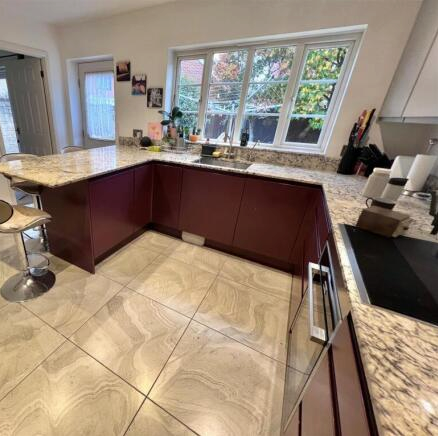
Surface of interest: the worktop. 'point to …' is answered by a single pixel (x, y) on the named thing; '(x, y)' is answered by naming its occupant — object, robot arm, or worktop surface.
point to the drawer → (402, 227)
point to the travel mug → (394, 188)
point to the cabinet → (380, 220)
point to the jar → (376, 183)
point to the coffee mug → (382, 203)
